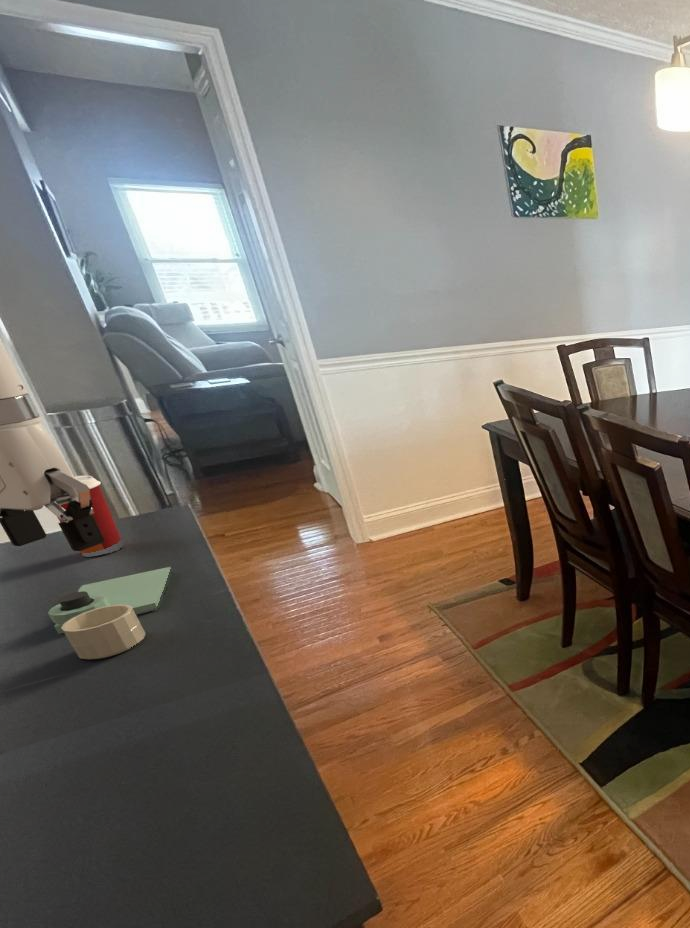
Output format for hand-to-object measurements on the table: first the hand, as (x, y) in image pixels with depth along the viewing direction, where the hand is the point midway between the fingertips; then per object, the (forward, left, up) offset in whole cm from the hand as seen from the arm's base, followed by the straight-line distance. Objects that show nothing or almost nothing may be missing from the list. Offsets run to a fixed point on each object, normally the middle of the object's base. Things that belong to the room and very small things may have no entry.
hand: (60, 544), depth 77 cm
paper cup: (-9, +45, -16) cm, 48 cm away
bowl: (0, 0, -16) cm, 16 cm away
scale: (-2, +17, -16) cm, 23 cm away
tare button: (-5, +12, -13) cm, 18 cm away
